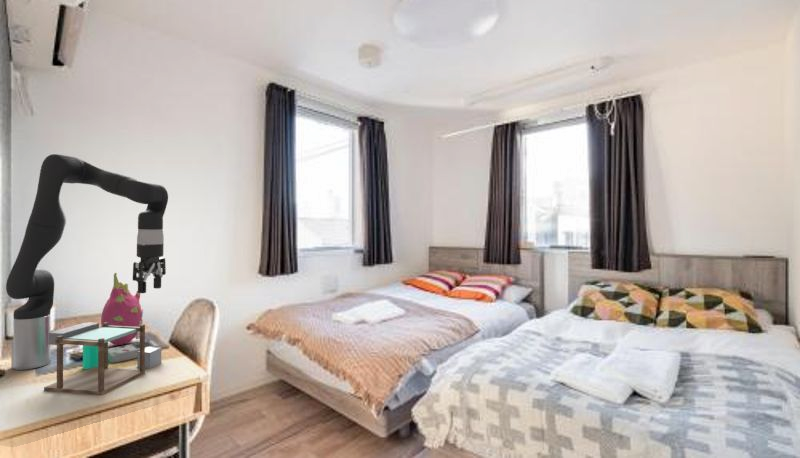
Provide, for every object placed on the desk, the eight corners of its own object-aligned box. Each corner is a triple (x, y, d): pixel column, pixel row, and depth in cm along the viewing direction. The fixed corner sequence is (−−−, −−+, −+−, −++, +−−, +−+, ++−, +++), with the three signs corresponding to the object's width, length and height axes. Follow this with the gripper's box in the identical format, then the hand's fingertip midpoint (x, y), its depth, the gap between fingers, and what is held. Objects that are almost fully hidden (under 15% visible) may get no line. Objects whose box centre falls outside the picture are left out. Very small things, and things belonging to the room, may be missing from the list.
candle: (92, 369, 127) (92, 335, 127) (78, 368, 128) (78, 333, 128) (109, 363, 133) (109, 330, 133) (95, 361, 134) (95, 328, 134)
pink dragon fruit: (140, 348, 148) (140, 273, 148) (96, 354, 142) (96, 275, 141) (144, 336, 164) (144, 268, 163) (105, 341, 157) (105, 270, 156)
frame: (44, 390, 112) (44, 335, 111) (94, 369, 127) (94, 321, 127) (101, 395, 109) (101, 339, 109) (145, 373, 125) (145, 324, 125)
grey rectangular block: (137, 367, 130) (137, 351, 130) (148, 361, 135) (148, 346, 135) (150, 368, 130) (150, 352, 130) (161, 362, 135) (161, 347, 135)
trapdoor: (48, 344, 113) (48, 332, 113) (86, 332, 125) (86, 322, 125) (103, 348, 111) (103, 336, 111) (136, 335, 123) (136, 325, 123)
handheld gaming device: (106, 358, 139) (106, 348, 139) (152, 348, 150) (152, 339, 150) (110, 365, 133) (110, 354, 133) (158, 354, 144) (158, 345, 143)
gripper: (151, 241, 132) (151, 286, 133) (124, 243, 118) (124, 294, 118) (173, 241, 133) (172, 287, 133) (149, 244, 119) (148, 294, 119)
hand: (149, 290), depth 126 cm, fingers open, 8 cm apart
